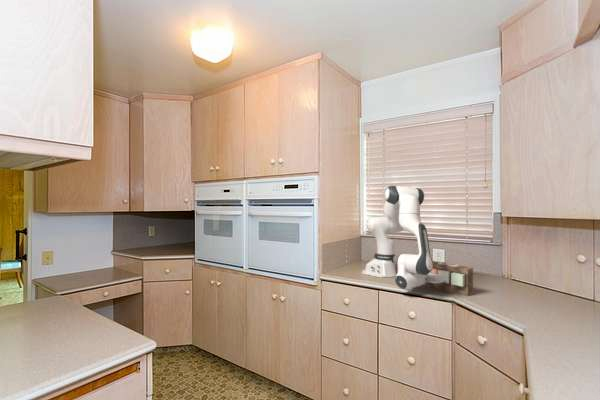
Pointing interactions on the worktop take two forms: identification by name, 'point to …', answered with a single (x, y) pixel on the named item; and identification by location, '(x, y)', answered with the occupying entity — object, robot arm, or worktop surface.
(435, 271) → the key left
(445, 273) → the key middle
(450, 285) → the keypad console
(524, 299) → the worktop surface
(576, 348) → the worktop surface
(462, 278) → the key right
